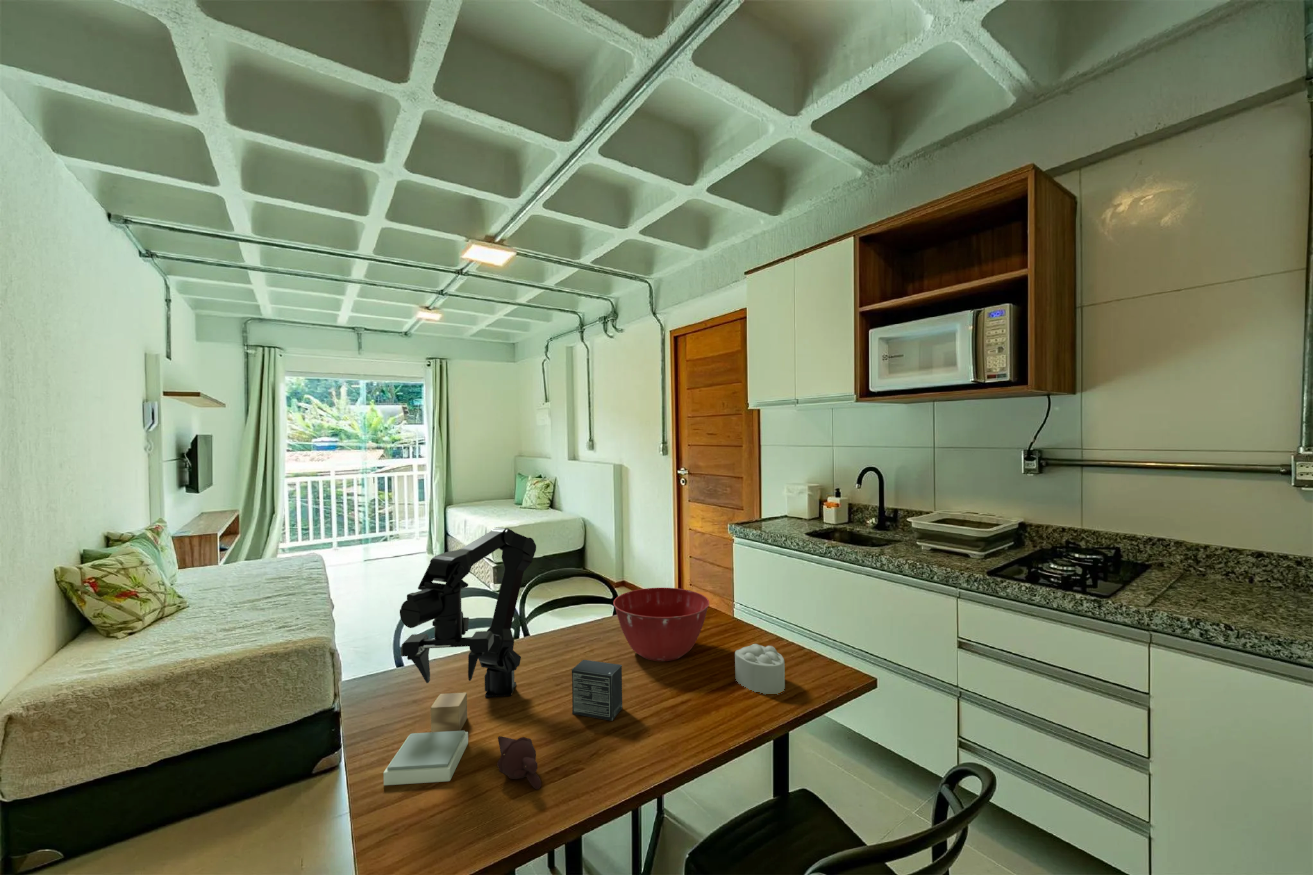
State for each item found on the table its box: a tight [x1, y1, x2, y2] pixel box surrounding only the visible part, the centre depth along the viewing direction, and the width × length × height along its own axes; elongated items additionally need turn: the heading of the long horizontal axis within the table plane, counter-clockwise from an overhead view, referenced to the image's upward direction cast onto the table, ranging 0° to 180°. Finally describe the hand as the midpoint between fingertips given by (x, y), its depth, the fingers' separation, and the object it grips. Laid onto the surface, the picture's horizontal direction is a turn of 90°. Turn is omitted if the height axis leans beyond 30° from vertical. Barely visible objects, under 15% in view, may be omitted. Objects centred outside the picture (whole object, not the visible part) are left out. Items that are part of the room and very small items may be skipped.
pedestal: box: [383, 729, 469, 786], centre depth 102 cm, size 12×12×3 cm
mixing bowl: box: [612, 587, 710, 662], centre depth 153 cm, size 28×28×16 cm
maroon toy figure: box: [496, 735, 542, 790], centre depth 99 cm, size 7×7×15 cm
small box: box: [571, 659, 623, 722], centre depth 121 cm, size 11×6×10 cm, turn 71°
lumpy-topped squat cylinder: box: [734, 643, 786, 695], centre depth 133 cm, size 10×13×9 cm
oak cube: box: [430, 692, 468, 732], centre depth 115 cm, size 6×6×6 cm
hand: (449, 681), depth 115 cm, fingers open, 9 cm apart
